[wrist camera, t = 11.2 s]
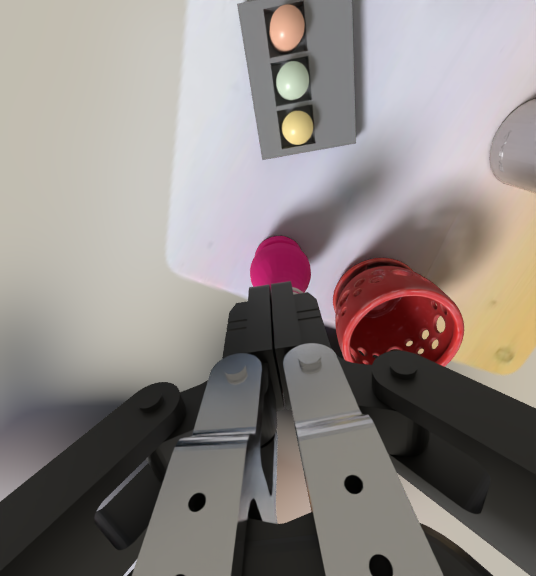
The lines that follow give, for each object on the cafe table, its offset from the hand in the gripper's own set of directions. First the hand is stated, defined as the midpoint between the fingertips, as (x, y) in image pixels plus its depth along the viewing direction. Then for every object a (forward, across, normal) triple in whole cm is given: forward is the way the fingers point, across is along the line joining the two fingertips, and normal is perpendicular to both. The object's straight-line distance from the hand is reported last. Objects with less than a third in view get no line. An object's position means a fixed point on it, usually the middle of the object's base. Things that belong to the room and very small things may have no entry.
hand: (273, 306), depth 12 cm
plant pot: (+29, -12, +18) cm, 36 cm away
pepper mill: (+29, 0, +11) cm, 31 cm away
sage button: (+29, -4, -8) cm, 30 cm away
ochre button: (+29, -4, -4) cm, 29 cm away
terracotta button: (+29, -4, -12) cm, 31 cm away
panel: (+29, -5, -8) cm, 30 cm away
